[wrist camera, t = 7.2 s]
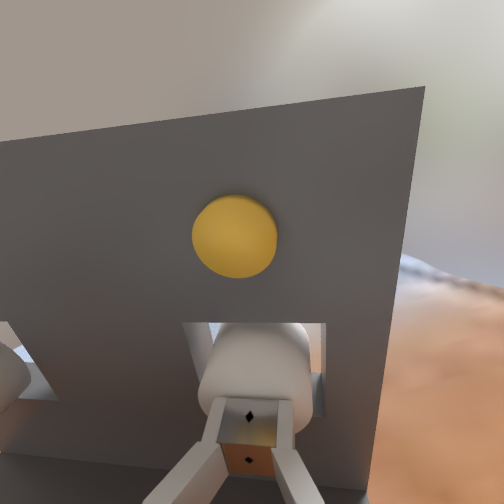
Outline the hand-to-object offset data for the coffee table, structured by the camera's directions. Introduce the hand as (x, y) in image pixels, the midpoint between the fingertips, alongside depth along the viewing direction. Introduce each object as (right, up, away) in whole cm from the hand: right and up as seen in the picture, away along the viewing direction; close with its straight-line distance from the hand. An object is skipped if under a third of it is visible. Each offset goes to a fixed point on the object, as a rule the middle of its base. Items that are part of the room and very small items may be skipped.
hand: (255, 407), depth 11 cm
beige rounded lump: (0, -1, +2) cm, 3 cm away
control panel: (-6, -10, +6) cm, 13 cm away
